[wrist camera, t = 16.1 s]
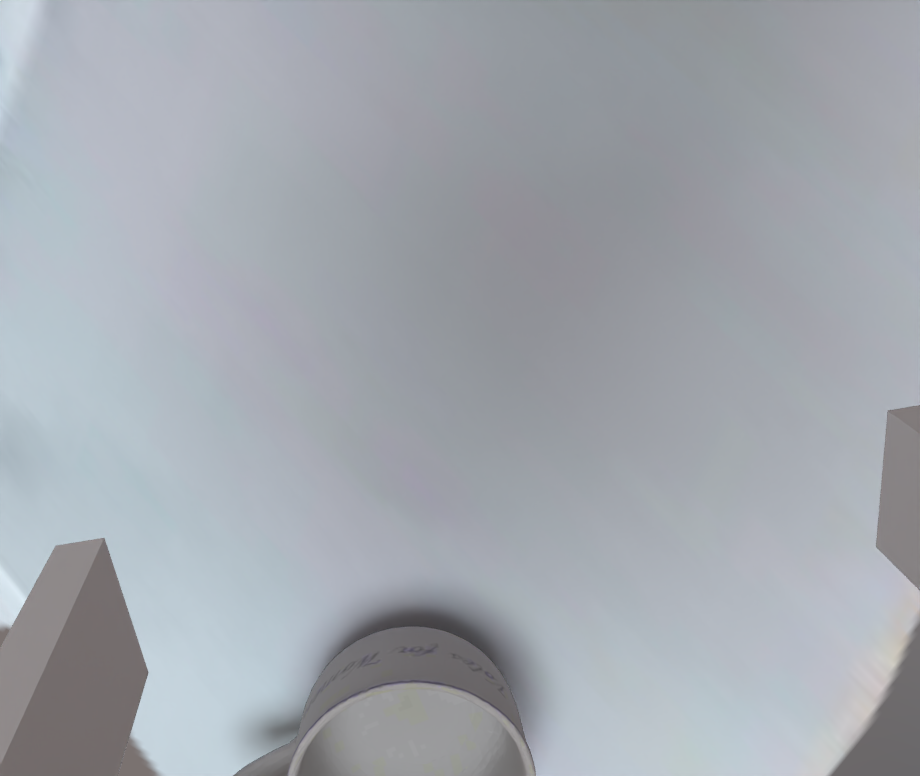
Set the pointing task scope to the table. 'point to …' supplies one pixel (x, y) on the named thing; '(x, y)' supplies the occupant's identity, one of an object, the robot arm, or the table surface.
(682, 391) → the table surface
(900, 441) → the robot arm
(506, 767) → the teacup
